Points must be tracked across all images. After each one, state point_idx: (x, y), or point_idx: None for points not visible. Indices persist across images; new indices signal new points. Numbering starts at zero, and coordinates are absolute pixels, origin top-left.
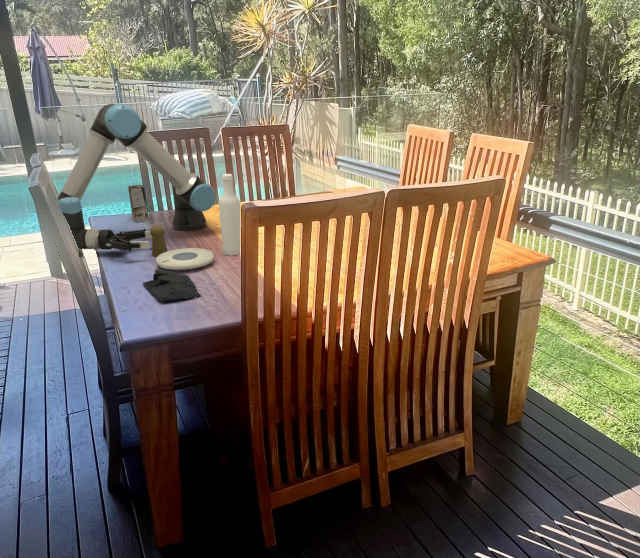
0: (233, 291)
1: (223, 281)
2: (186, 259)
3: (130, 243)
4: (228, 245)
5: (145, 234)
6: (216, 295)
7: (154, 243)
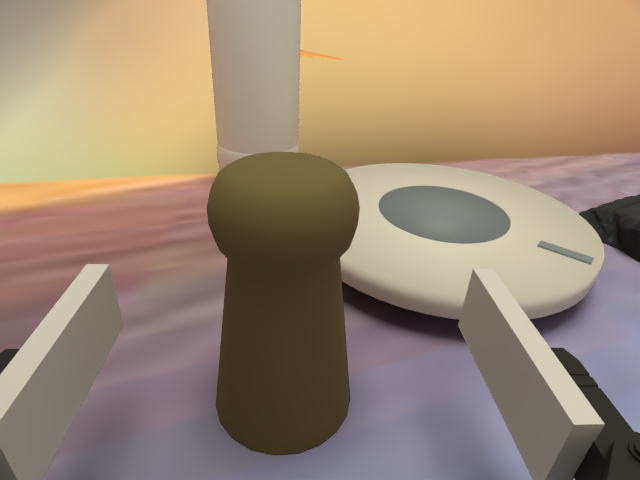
0: (584, 157)
1: (537, 170)
2: (486, 201)
3: (625, 440)
4: (297, 136)
5: (13, 458)
6: (636, 171)
7: (340, 317)
